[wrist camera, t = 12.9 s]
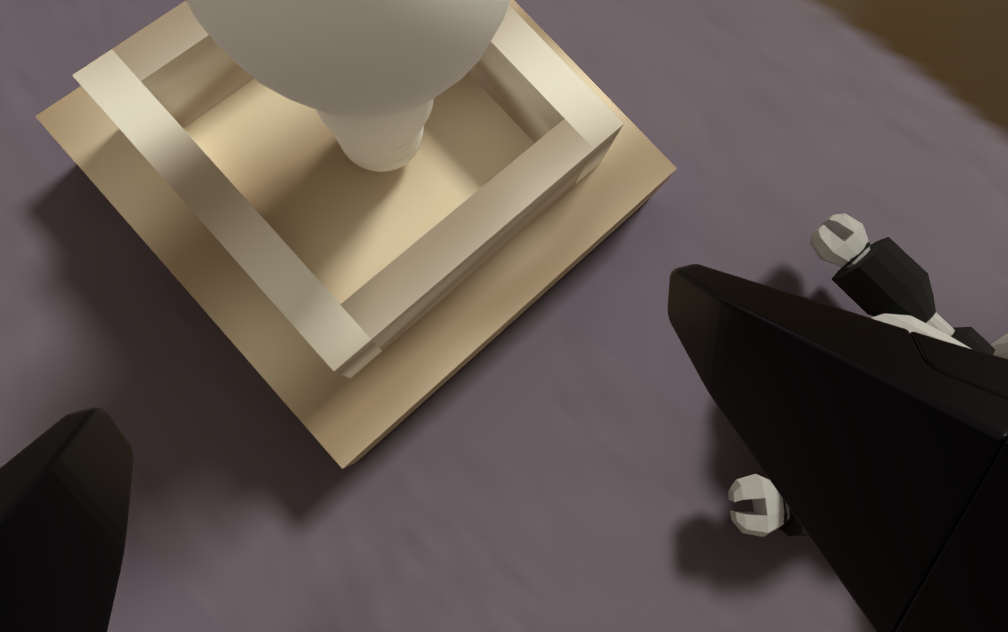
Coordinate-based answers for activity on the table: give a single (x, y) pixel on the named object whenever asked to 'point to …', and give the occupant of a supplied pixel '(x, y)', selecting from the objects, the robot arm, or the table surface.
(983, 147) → the table surface
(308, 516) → the table surface
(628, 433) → the table surface
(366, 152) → the lightbulb
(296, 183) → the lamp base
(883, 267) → the robot toy
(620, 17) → the table surface
